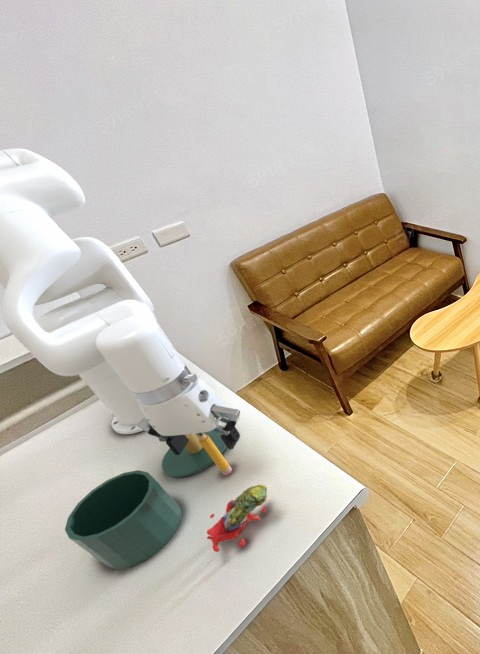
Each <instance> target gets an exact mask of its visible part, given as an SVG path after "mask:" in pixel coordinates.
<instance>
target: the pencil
mask: <svg viewBox="0 0 480 654" xmlns="http://www.w3.org/2000/svg"><path fill="white" fill-rule="evenodd" d="M198 437H199V442H200V444H201V445H202V446H203V448H204V449H205V450H206V452H207V453H208V455H209V456H210V457H211V459H212V460H213V461H214V462H213V463H214V465H216V467H217V468H218V470H219V471H220V472H221V473H222V475H223V476H228V475H230V474H231V473H232V471H233V468H232V467H231V465H230V464H229V463H228V461H227V460H226V458H225V457H224V456H223V453H222V454H221V453H220V451H219V450H218V449H217V447H216V446H215V444H214V443H213V442H212V440H211V439H210V437H209V436H208V435H205V434H204V433H199V436H198Z"/></svg>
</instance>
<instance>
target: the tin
mask: <svg viewBox="0 0 480 654" xmlns="http://www.w3.org/2000/svg"><path fill="white" fill-rule="evenodd" d="M181 520H182V509H181V507H180V505H179V504H178V503H177V501H176V500H174V498H173V497H172V496H171V495H170V494H169V493H168V491H166V489H164V487H162V485H161V484H160V483H159V482H158V481H157V480H156V479H155V478H154V476H153V475H152V474H151V473H150V472H149V471H143V470H139V469H137V470H131V471H125V472H122V473H120V474H118V475H115V476H114V477H111V478H109V479H106V480H105V481H104V482H102V483H101V484H99V485H98V486H96V487H95V488H93V489H92V490H90V491H89V493H88V494H86V495H85V496H84V497H82V499H81V500H80V501H78V503H77V504H76V505H75V507H74V508H73V509H72V511H71V513H69V516H68V517H67V519H66V524H65V527H64V531H65V533H66V535H67V538H68V539H70V540H71V541H72V542H74V543H75V544H76V545H77V546H79V547H80V548H82V549H83V550H84V551H86V552H87V553H88V554H89V555H91V556H92V557H94V558H95V559H96V560H98V561H99V562H101V563H102V564H103V565H104V566H106V567H109V568H111V569H114V570H123V569H129V568H132V567H134V566H137V565H139V564H141V563H143V562H145V561H146V560H148V559H150V558H151V557H153V556H154V555H155V554H156V553H157V552H159V551H160V550H161V549H163V547H164V546H165V545H166V544H167V543H168V542H169V541H170V540H171V538H172V537H173V536H174V535H175V533H176V532H177V530H178V527H180V523H181Z"/></svg>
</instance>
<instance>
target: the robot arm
mask: <svg viewBox="0 0 480 654" xmlns="http://www.w3.org/2000/svg"><path fill="white" fill-rule="evenodd" d="M85 203H86V198H85V195H84V192H83V190H82V188H81V186H80V185H79V183H78V182H77V181H76V180H75V179H74V178H73V177H72V176H71V175H70V174H69V173H68V172H67V171H65V170H64V169H63V168H62V167H60V165H57V164H56V163H54V162H52V161H51V160H49V159H47V158H46V157H43V156H42V155H40V154H38V153H35V152H33V151H31V150H28V149H25V148H19V147H18V148H7V149H0V285H1V286H2V287H3V288H4V293H3V296H2V303H1V306H2V307H1V308H2V310H1V311H2V315H3V320H4V322H5V324H6V326H7V328H8V330H9V331H10V333H11V334H12V335H13V336H14V338H15V339H16V340H18V342H19V343H20V344H21V345H22V346H23V347H24V348H25V349H26V350H27V351H28V352H29V353H30V354H31V355H32V356H33V357H34V358H35V359H36V360H37V361H38V362H39V363H40V364H41V365H43V366H44V367H45V368H46V369H47V370H49V371H50V372H52V373H53V374H55V375H58V376H60V377H74V376H78V377H79V378H80V379H81V381H83V382H84V383H85V384H86V386H88V388H89V389H90V391H92V392H93V394H95V395H96V397H97V398H98V399H99V400H100V401H101V403H102V404H103V405H104V406H105V407H106V408H107V409H108V410H109V412H110V413H111V414H112V415H113V417H112V419H111V427H112V429H113V431H114V432H115V433H117V434H119V435H131V434H132V435H133V434H136V433H137V434H138V433H140V432H144V431H145V432H147V434H148V435H149V436H153V437H156V438H158V441H159V442H161V443H165V444H166V446H167V447H168V449H169V448H170V449H171V450H172V451H173V453H174V454H175V455H180V454H181V453H182V451H183V450H184V448H185V447H186V445H187V444H188V442H189V440H188V438H187V437H186V436H185V434H194V433H203V432H208V431H212V430H213V431H215V432H217V433H220V434H222V435H221V439H222V440H223V442H224V443H225V445H226V446H227V447H226V448H227V449H228V450H234V448H235V446H236V444H237V443H238V442H239V441H240V437H241V434H240V432H239V431H238V429H237V428H236V425H237V423H238V422H239V420H240V415H241V410H240V409H238V408H233V407H229V406H228V407H227V406H225V404H224V402H223V401H222V400H221V399H220V397H219V396H218V395H217V394H216V392H215V391H214V390H213V389H212V387H210V386H209V385H208V384H207V383H206V382H205V381H204V380H203V379H201V378H200V377H198V376H197V374H194V373H193V374H192V372H191V371H190V369H189V368H188V366H187V364H186V363H185V362H184V360H183V359H182V357H181V356H180V354H179V353H178V351H177V349H176V348H175V347H174V345H173V344H172V342H171V341H170V339H169V338H168V336H167V334H166V333H165V332H164V330H163V329H162V327H161V325H160V324H159V323H158V319H157V316H156V314H155V312H154V311H155V308H154V304H153V303H152V301H151V299H150V297H149V296H148V294H146V292H145V291H144V289H143V288H142V287H141V286H140V285H139V283H138V282H137V280H136V279H135V278H134V277H133V275H132V274H131V273H130V271H129V270H128V269H127V267H126V266H125V264H123V263H122V261H121V260H120V259H119V257H118V256H117V255H116V254H115V253H114V251H113V250H112V249H111V248H110V247H109V246H107V244H105V242H104V243H103V241H101V240H100V239H99V240H98V239H96V238H94V237H90V236H84V237H83V236H81V237H77V238H73V239H72V238H70V237H69V235H67V234H66V233H65V232H64V231H63V229H61V228H60V227H59V226H58V225H57V223H56V222H55V221H54V220H53V219H52V217H55V216H58V215H61V214H66V213H69V212H73V211H76V210H79V209H80V208H81V209H82V208H83V206H84V205H85ZM95 285H103V286H104V288H101V289H99V290H96V291H94V292H92V293H88V294H86V295H84V296H82V297H78V298H77V299H74V300H72V301H69V302H66V303H64V304H62V305H59V306H57V307H55V308H53V309H50V310H49V311H47V312H45V313H44V314H42V315H41V316H40V317H39V318H36V319H35V316H34V307H35V306H40V305H45V304H48V303H51V302H54V301H56V300H59V299H62V298H64V297H68V296H70V295H72V294H75V293H78V292H79V291H82V290H85V289H86V288H90V287H92V286H95ZM220 422H222V423H224V424H225V425H224V426H223V427H224V428H223V427H221V426H222V425H220V426H219V423H220Z"/></svg>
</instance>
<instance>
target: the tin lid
mask: <svg viewBox="0 0 480 654" xmlns="http://www.w3.org/2000/svg"><path fill="white" fill-rule="evenodd" d="M218 425H219V424H218ZM219 426H221V427H223V428H224V427H225V426H222V425H219ZM203 433H204V434H205V435H208V436H209V437H210V439H211V440H212V442H213V443H214V444H215V446H216V447H217V449H218V450H219V451H220V453H221V454H222V455H223V453H224V452H225V450H226V449H227V448H228V447H227V446H226V445H225V443H224V442H223V440H222V439H221V435H222V434H220V433H217V432H215V431H213V430H212V431H208V432H203ZM185 436H186V437H187V438H188V440H189V442H188V444H187V445H186V447H185V448H184V450H183V451H182V453H181V454H180V455H175V454H174V453H173V451H172V450H171V449H170V448H169V447H168V449H167V450H166V452H165V453H164V456H163V458H162V462H161V468H162V470H163V472H164V473H165V474H166V475H167V476H170V477H173V478H182V477H189V476H191V475H194V474H196V473H198V472H200V471H203V470H204V469H206V468H208V467H209V466H210V465H211V464H213V463H214V461H213V460H212V459H211V457H210V456H209V455H208V453H207V452H206V450H205V449H204V448H203V446H202V445H201V444H200V442H199V437H198V436H199V433H194V434H185Z"/></svg>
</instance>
